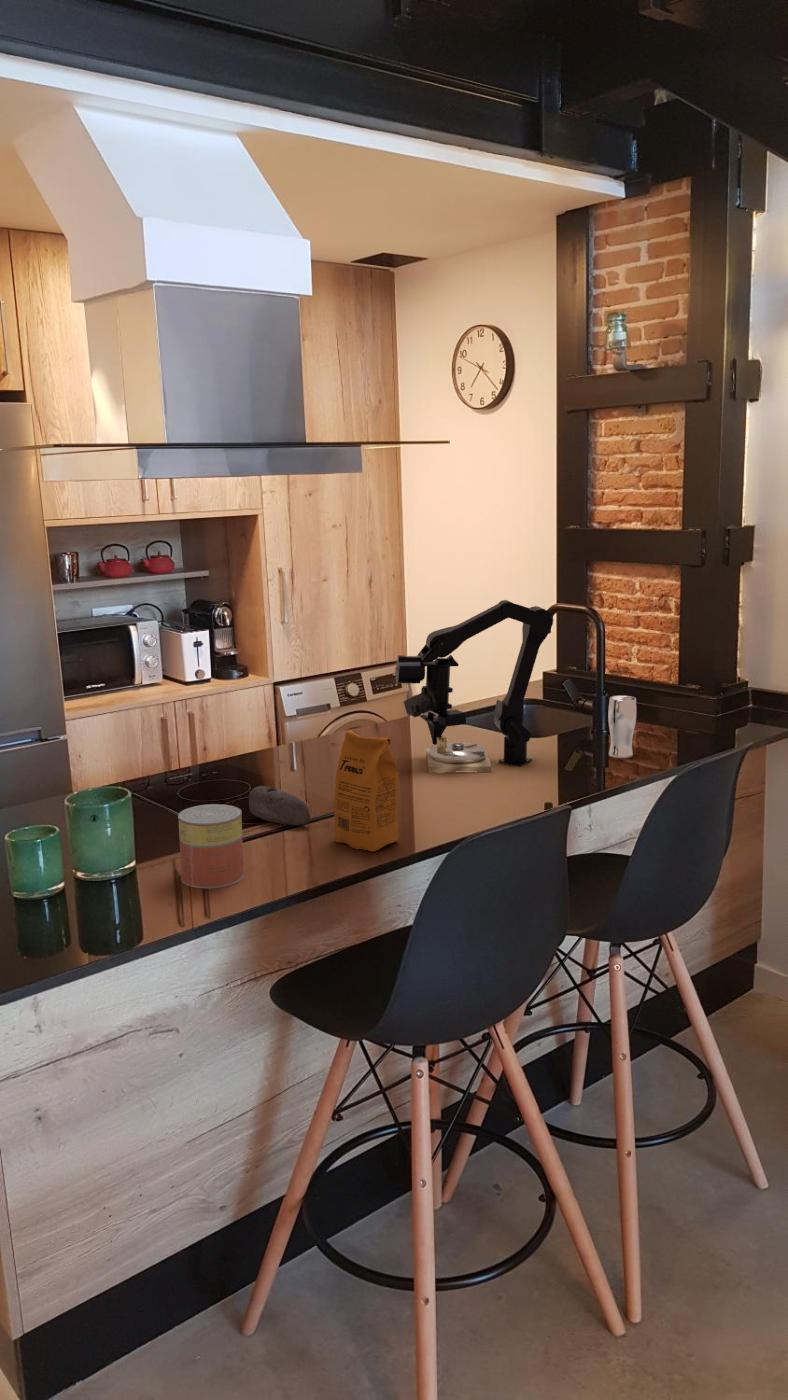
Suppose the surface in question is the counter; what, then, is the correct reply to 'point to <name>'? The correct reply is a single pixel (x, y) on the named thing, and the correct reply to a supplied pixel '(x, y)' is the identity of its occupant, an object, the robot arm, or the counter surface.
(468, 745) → the handwheel
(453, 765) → the base plate
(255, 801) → the perforated stone tool
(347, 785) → the coffee package
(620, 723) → the beer glass
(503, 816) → the counter surface
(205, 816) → the canned food
